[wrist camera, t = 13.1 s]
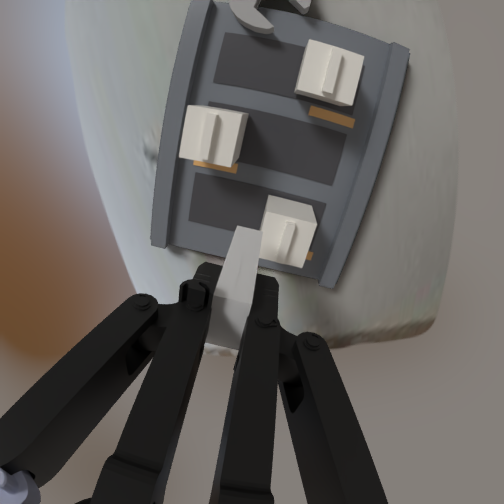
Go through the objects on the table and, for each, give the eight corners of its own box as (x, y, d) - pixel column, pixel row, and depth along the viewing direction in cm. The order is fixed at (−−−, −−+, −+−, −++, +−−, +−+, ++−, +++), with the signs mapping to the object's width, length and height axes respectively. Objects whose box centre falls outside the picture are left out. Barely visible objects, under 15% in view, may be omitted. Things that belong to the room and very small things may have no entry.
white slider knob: (203, 105, 21) (184, 105, 16) (248, 113, 21) (240, 114, 17) (194, 149, 22) (175, 158, 18) (238, 157, 22) (229, 169, 18)
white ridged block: (268, 194, 23) (265, 214, 19) (311, 205, 24) (317, 227, 19) (258, 234, 25) (253, 260, 21) (299, 244, 25) (302, 272, 21)
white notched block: (304, 50, 18) (310, 36, 14) (350, 64, 18) (367, 54, 14) (293, 92, 20) (297, 88, 15) (340, 106, 20) (354, 105, 16)
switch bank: (195, 4, 18) (187, -4, 16) (404, 55, 18) (415, 51, 16) (154, 234, 28) (146, 244, 26) (334, 277, 28) (338, 289, 26)
